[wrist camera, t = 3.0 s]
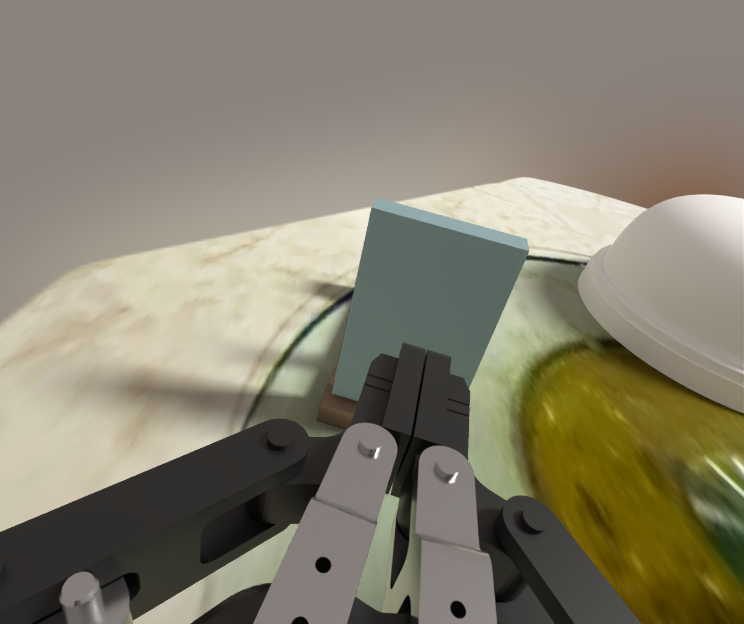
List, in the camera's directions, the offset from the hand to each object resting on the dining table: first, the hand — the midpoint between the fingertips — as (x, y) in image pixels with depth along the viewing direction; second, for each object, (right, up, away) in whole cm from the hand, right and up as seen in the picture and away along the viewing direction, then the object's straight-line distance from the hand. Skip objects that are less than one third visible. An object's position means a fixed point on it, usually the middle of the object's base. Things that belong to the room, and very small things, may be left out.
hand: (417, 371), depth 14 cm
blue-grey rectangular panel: (0, -3, +18) cm, 18 cm away
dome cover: (+37, -1, +40) cm, 54 cm away
